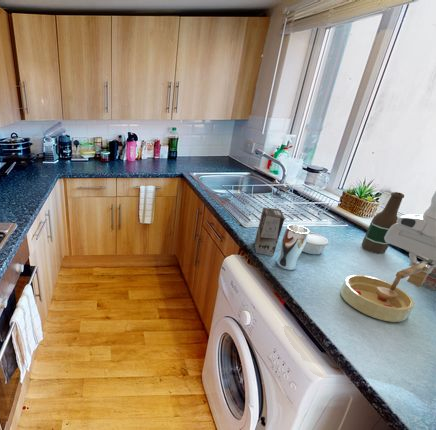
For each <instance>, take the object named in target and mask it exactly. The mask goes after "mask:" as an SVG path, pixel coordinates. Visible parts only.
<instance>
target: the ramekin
mask: <svg viewBox="0 0 436 430" xmlns="http://www.w3.org/2000/svg"><path fill="white" fill-rule="evenodd" d="M329 242H330V241H329V240H328V238H326V237H325V236H323V235H321V234H319V233H317V232H312V231H309V234H308V238H307V242H306V244H305V247H304V249H303V250H302V252H303V253H305V254H309V255H320V254H322V253H323V252H324V250H325V248H326V247H327V246H328V245H329Z"/></svg>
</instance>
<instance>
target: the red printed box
mask: <svg viewBox="0 0 436 430" xmlns="http://www.w3.org/2000/svg"><path fill="white" fill-rule="evenodd" d="M432 262H433V260H431V259H428V260H427V261H424V260H422V261H420V264H421V263H425V264H427V265H430V266H433V265H435V264H432ZM421 287H424V288H427V289H429V290H433V291H436V267H435V268H433V270H432V271H431V273H429V274H428V276H427V278H426V280H425V281H424V283H423V285H422V286H421Z"/></svg>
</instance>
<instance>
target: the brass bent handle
mask: <svg viewBox="0 0 436 430" xmlns="http://www.w3.org/2000/svg"><path fill="white" fill-rule="evenodd" d="M426 265H427V264H425V263H421V262H420V264H418V265H415V266H412V267H411V266H409V267H407V268H404V269H402V270H399V271H397V272H396V273H395V278H394V280H393V282H392V283H391V284H392V286H391V288H390V289H389V288H386V287H378V288H377V290H376V293H377V294H378V295H379V296H380V297H382V298H385V299H388V300H396V298H397V296H398V294H397V293H396V292H395V291H394V290H395V289H396V287H398V285H399V283H400V281H401V280H403V279H406V278H408V279H407V280H406V282H407V283H409V284H411V285H414V286H415V287H417V288H421V287H423V286H422V285H423V283H424V281H425V280H426V278H427V276H428V273H425V272H423V271H422V269H423V267H424V266H426ZM428 266H430V265H428Z"/></svg>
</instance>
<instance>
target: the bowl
mask: <svg viewBox="0 0 436 430" xmlns="http://www.w3.org/2000/svg"><path fill="white" fill-rule="evenodd" d="M392 284H393V283H391V282H388V281H385V280H383V279H380V278H377V277H373V276H369V275H364V274H351V275H348V276H347V277H346V278H345V280H344V282H343V284H342V286H341V288H340V295H341V297H342V298H343V300H344V301H345V302H346V303H347V304H349V306H351V307H352V308H354V309H355V310H357V311H358V312H360V313H362V314H364V315H367V316H369V317H371V318H374V319H378V320H380V321H385V322H391V323H399V322H403V321H405V320H407V318H408V317H409V315H410V314H411V312H412V310H413V309H414V305H415V301H414V300H413V298H412V296H410V295H409V294H408V293H407V292H406V291H404V290H403V289H402V288H400V287H398V286H397V287H396V289H395V290H394V291H395V292H396V293H397V294H398V296H397V298H396V300H386V301H383V300H381V299H379V298H378V294H377V293H376V290H377V288H378V287H386V288H389V289H390V288H391V286H392ZM353 289H357V290H359V291H360V292H361V295H359V294H358V293H357V292H356V291H354V290H353ZM383 304H389V305H391V306H392V307H388V306H385V305H383Z"/></svg>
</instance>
